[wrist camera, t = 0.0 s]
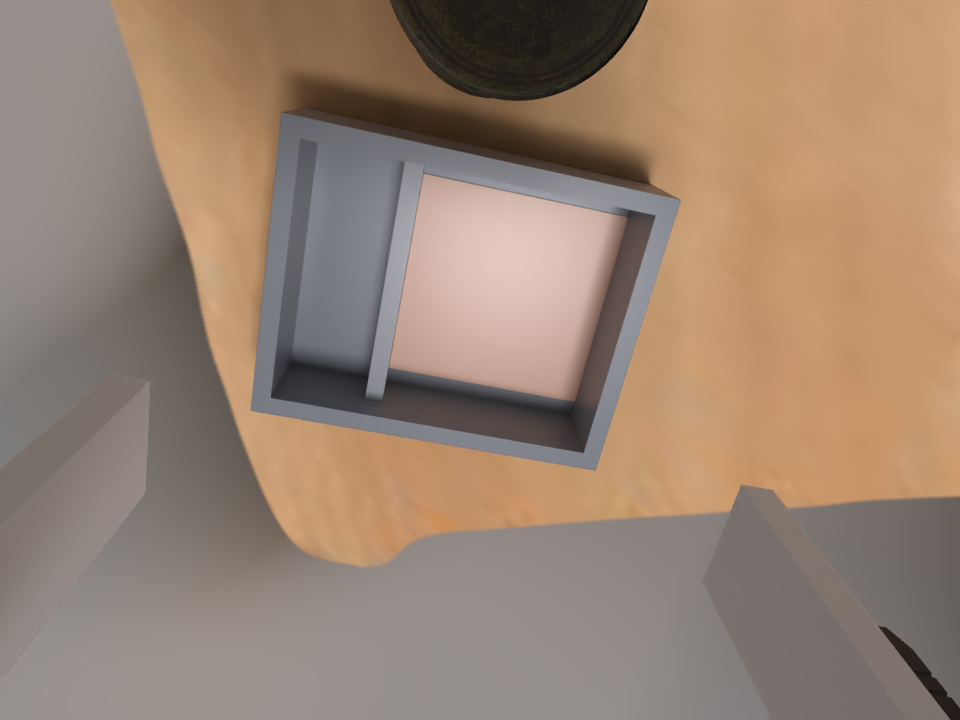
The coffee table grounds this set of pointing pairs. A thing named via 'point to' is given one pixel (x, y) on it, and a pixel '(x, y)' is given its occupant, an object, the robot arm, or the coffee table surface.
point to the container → (517, 42)
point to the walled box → (451, 289)
